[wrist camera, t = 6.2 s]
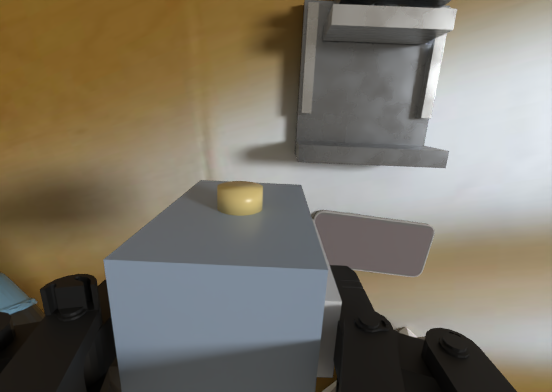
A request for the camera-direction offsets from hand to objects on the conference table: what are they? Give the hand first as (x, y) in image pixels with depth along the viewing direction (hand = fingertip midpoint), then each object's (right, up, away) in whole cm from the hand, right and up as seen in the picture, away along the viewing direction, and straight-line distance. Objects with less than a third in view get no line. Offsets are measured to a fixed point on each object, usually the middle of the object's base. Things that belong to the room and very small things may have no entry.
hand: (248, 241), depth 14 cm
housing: (0, 0, 0) cm, 0 cm away
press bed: (+11, +14, +16) cm, 24 cm away
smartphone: (+13, -4, +22) cm, 26 cm away
